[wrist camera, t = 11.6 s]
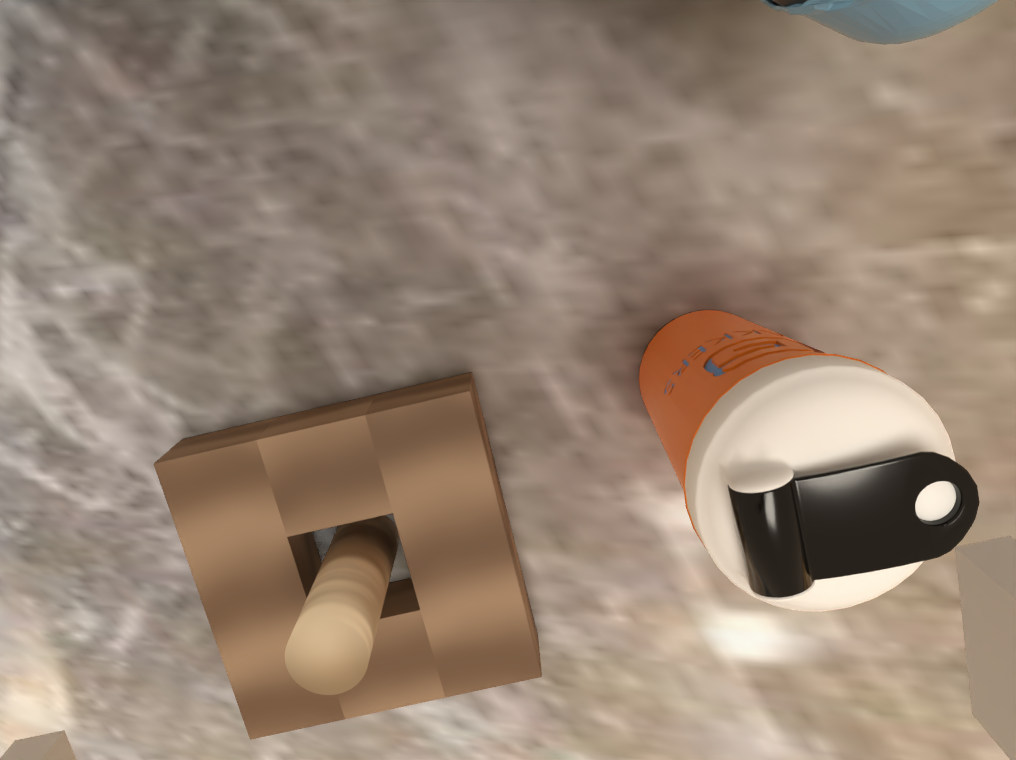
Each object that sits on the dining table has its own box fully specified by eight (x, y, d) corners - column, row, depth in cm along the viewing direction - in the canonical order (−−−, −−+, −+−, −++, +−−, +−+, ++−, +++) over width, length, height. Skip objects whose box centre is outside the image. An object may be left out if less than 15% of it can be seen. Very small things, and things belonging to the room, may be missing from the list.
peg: (328, 517, 47) (274, 629, 36) (390, 503, 47) (356, 612, 36) (344, 574, 48) (297, 702, 37) (405, 561, 48) (377, 685, 36)
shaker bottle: (810, 415, 46) (1038, 592, 27) (656, 479, 47) (770, 696, 28) (755, 264, 44) (957, 336, 25) (595, 332, 45) (671, 454, 26)
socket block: (182, 439, 46) (153, 463, 42) (472, 372, 46) (469, 390, 42) (269, 695, 50) (250, 739, 46) (538, 636, 49) (541, 676, 45)
